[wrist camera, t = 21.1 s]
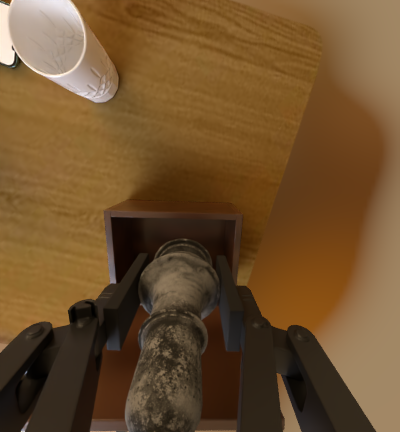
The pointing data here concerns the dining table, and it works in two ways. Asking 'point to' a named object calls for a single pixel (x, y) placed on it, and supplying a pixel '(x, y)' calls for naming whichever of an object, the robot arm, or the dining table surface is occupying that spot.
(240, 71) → the dining table surface
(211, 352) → the brown wooden lid
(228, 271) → the robot arm
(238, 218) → the chest
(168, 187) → the dining table surface
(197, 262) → the grey chess piece
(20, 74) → the dining table surface
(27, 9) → the white cup
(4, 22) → the smartphone
